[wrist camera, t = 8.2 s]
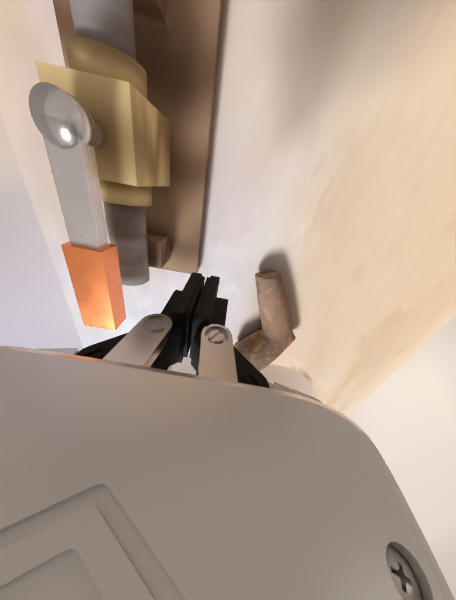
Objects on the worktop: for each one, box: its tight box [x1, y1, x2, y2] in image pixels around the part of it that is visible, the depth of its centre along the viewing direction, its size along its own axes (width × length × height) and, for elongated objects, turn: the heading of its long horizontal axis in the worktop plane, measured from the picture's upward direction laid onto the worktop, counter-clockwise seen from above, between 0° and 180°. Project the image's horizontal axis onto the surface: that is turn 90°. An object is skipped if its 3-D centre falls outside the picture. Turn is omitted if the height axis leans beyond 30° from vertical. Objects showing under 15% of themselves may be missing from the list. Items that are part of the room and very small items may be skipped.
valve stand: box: [35, 0, 223, 286], centre depth 15 cm, size 24×12×10 cm, turn 170°
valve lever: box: [29, 82, 126, 330], centre depth 13 cm, size 3×15×2 cm, turn 169°
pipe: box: [234, 271, 295, 371], centre depth 28 cm, size 6×17×10 cm
